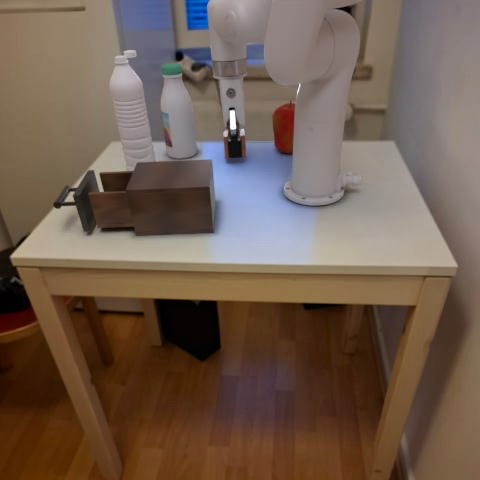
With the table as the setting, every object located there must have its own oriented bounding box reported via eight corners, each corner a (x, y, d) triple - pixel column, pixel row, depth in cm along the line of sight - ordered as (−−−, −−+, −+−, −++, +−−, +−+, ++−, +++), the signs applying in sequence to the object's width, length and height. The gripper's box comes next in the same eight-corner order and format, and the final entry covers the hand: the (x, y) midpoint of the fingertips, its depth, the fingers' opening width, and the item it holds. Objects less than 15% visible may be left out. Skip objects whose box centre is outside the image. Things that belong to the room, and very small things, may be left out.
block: (245, 150, 107) (244, 128, 104) (246, 157, 104) (244, 135, 100) (225, 151, 108) (223, 130, 104) (225, 158, 104) (223, 137, 101)
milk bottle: (200, 148, 113) (191, 60, 100) (193, 159, 108) (183, 68, 94) (171, 147, 114) (159, 61, 101) (163, 159, 109) (149, 69, 95)
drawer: (57, 232, 82) (44, 196, 77) (73, 205, 90) (62, 171, 85) (155, 229, 81) (148, 192, 76) (162, 202, 89) (156, 167, 84)
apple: (272, 144, 114) (273, 95, 106) (305, 144, 113) (308, 94, 105) (270, 157, 107) (271, 105, 99) (305, 157, 106) (308, 105, 98)
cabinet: (135, 235, 81) (125, 189, 75) (145, 205, 90) (137, 162, 84) (213, 232, 81) (209, 186, 75) (215, 202, 90) (212, 159, 84)
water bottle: (152, 189, 96) (128, 59, 80) (125, 187, 98) (96, 59, 81) (166, 172, 102) (147, 49, 86) (140, 171, 104) (117, 49, 87)
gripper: (248, 75, 87) (252, 165, 99) (246, 59, 100) (249, 140, 112) (210, 78, 87) (219, 167, 99) (213, 61, 100) (220, 142, 112)
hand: (235, 152), depth 105 cm, fingers closed on block, 5 cm apart
